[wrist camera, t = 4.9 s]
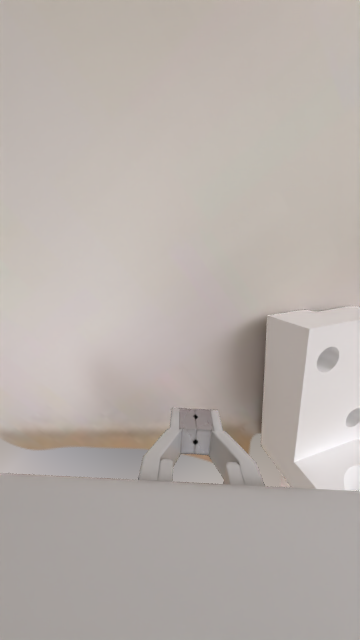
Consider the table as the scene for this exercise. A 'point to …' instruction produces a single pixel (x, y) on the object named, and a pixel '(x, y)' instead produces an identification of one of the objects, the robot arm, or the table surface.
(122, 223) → the table surface
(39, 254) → the table surface
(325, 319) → the bracket
